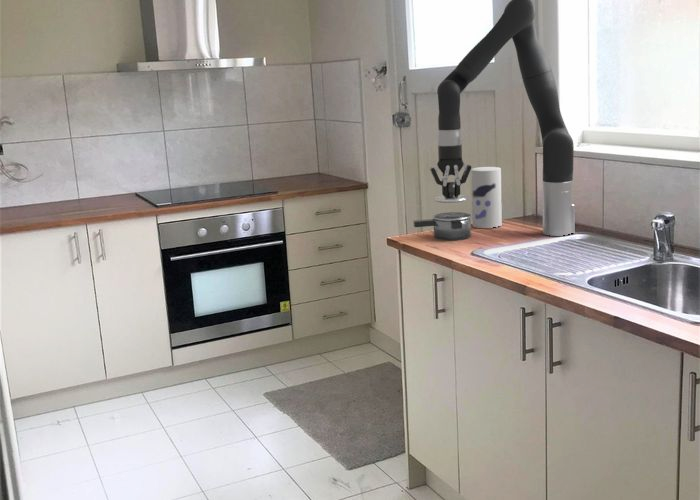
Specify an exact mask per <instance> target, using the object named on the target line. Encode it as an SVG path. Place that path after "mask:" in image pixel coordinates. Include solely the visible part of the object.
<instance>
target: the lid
mask: <svg viewBox="0 0 700 500" xmlns="http://www.w3.org/2000/svg"><path fill="white" fill-rule="evenodd" d="M447 192H448V197H447V198H445V197H444V196H443V195H439V196H438V195H437V196H436V197H435V202H436V203H445V204H447V203H449V204H451V203H452V204H453V203H454V204H455V203H463V202H466V201H468V196H467V195H464V194H460V195H459V196H458V197H456V182H455V181H447Z"/></svg>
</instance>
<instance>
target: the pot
mask: <svg viewBox="0 0 700 500" xmlns="http://www.w3.org/2000/svg"><path fill="white" fill-rule="evenodd" d="M471 219H472V213H467V212H461V211H460V212H459V211H450V212H440V213H436V214H433V215H432V218H431V219H417V220H414V219H413V227H414V228H424V227H425V228H426V227H433V238H434V239H435V240H438V241H444V242H445V241H446V242H447V241H449V242H452V241H462V240H467V239H470V238H471V235H472V232H471V228H472V227H471Z"/></svg>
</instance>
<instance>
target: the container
mask: <svg viewBox="0 0 700 500" xmlns="http://www.w3.org/2000/svg"><path fill="white" fill-rule="evenodd" d="M470 176H471V180H470V181H471V220H472V221H471V222H472V223H471V224H472V227H473V228H477V229H478V228H479V229H494V228H493V227H496V228H499V227H498V226H500V227H501V226H502V223H503V222H502V220H503V218H502V168H501V167H498V166H481V167H474V168H473V167H472V168H471V170H470Z"/></svg>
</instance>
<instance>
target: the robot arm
mask: <svg viewBox="0 0 700 500" xmlns="http://www.w3.org/2000/svg"><path fill="white" fill-rule="evenodd" d="M535 17H536V6H535V4H534V2H533V1H532V0H510V1H509V2H508V3H507V4H506V6H505V8H504V11H503V13H502V15H500V18H499V19H498V20H497V22H496V23H495V24H494V26H493V27H492V28H491V29H490V30H489V32H487V34H486V35H485V36H484V37H483V38H482V39H480V40H479V42H477V44H475V46H474V47H472V48H471V50H470V51H468V53H467V54H466V55H465V56H464V57H463V58H462V59H461V61H460V62H459V63H458V64H457V66H456V67H455V68H454V70H452V71H451V72H450V73H449V74H448V75H447V76H446V77H445V78H444V79H443V80H442V81H441V82H440V83H439V85H438V86H437V90H436V92H437V94H436V95H437V101H438V102H437V103H438V115H437V116H438V117H437V118H438V119H437V120H438V121H437V122H438V123H437V124H438V125H437V126H438V135H437V150H438V151H437V152H438V161H437V164H436V165H434V166H430V168H429V171H430V173H431V175H432V177H433V179H434V181H435V183H436V184H437V185H440V186H441V193H442V196H444V197H445V198H447V197H448V192H447V182H448V178H449V176H453V179H454V182H456V197H458V196H459V195H461V185H463V184H465V183H467V179H468V177H469V175H470V173H471V169H472V165H470V164H466V163H464V161H463V138H462V137H463V136H462V130H461V129H462V128H461V127H462V125H461V114H460V109H461V93H462V92H463V91H464V90H465V89H466V88H467V86H468V85H470V84H471V83H472V82H473V81H474V80H476V79H477V77H478V76H479V75H480V74H481V73H482V72H483V71H484V70H485V68H487V67H488V65H489V64H490V63H491V62H492V60H494V58H495V57H496V56H497V55H498V53H499V52H500V51H501V49H502V48H504V46H505V45H506V44H507V43H508V42H509V41H510V40H512V42H513V44H514V47H515V50H516V56H517V60H518V61H517V62H518V66H519V70H520V74H521V79H522V82H523V86H524V89H525V92H526V95H527V98H528V100H529V103H530V105H531V107H532V109H533V111H534V114H535V115H536V119H537V122H538V125H539V129H540V130H539V131H540V134H541V136H540V137H541V141H542V143H541V145H542V234H543V235H546V236H549V235H550V236H551V237H564V236H563V235H565V236H569V235H568V234H570V235H572V234H571V233H575V231H576V230H575V223H576V222H575V221H576V220H575V217H576V216H575V215H576V212H575V209H576V206H575V204H574V203H573V202H574V201H573V199H574V198H573V196H574V195H573V192H574V191H573V190H574V189H573V185H574V184H573V179H574V178H573V177H574V152H575V150H574V140H573V138H572V136H571V134H570V132H569V130H568V129H567V126H566V124H565V121H564V118H563V116H562V112H561V108H560V101H559V100H560V99H559V93H558V88H557V85H556V79H555V77H554V73H553V69H552V66H551V64H550V61H549V59H548V56H547V55H546V52H545V51H544V48H543V47H542V45H541V42H540V41H539V38H538V33H537V29H536V24H535ZM462 168H463V173H462V175H461V178H460V171H462ZM439 171H440V172H441V174H442V175H441V178H440V177H439V175H438V172H439ZM440 179H441V180H440ZM550 236H549V237H550Z"/></svg>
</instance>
